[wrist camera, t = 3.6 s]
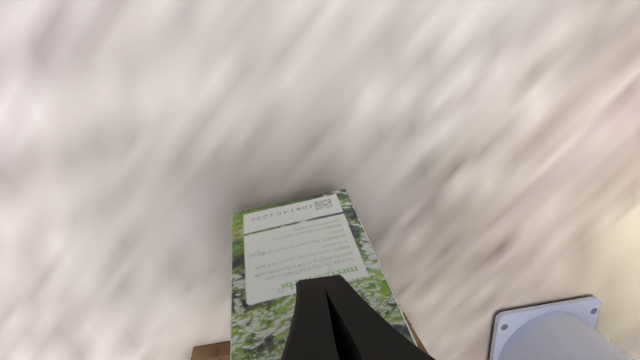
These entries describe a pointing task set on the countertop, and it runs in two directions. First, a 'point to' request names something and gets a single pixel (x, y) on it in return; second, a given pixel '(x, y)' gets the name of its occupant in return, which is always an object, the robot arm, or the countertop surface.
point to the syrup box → (298, 268)
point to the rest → (218, 355)
